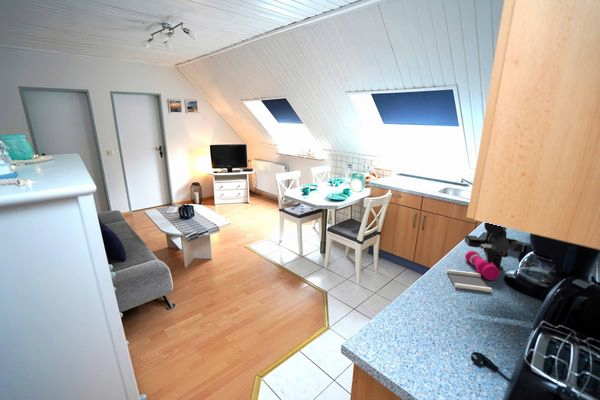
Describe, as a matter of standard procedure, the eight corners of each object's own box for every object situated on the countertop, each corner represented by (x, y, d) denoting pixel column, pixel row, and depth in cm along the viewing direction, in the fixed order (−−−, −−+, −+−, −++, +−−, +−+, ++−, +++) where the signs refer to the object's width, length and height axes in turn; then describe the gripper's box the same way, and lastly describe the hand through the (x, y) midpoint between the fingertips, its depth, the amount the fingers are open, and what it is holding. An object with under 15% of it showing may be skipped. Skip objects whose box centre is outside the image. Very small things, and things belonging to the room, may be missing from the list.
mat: (446, 273, 122) (447, 269, 121) (479, 277, 119) (480, 273, 119) (454, 288, 111) (455, 284, 110) (491, 293, 108) (492, 289, 107)
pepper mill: (502, 266, 114) (477, 247, 133) (484, 264, 115) (462, 246, 134) (498, 282, 116) (474, 261, 135) (480, 280, 116) (459, 259, 136)
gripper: (477, 231, 101) (469, 269, 105) (536, 236, 97) (526, 276, 101) (467, 221, 112) (460, 256, 116) (520, 225, 108) (511, 261, 112)
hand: (488, 262), depth 111 cm, fingers closed
